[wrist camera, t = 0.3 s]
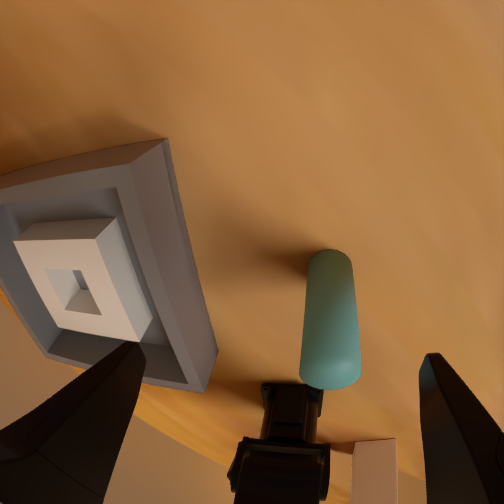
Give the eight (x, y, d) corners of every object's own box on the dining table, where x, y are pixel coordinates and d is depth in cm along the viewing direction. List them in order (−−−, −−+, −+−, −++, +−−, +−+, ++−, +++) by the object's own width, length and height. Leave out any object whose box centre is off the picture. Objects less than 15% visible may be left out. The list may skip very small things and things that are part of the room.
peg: (350, 286, 23) (356, 389, 16) (307, 285, 24) (299, 388, 16) (353, 249, 21) (365, 354, 14) (307, 249, 22) (299, 353, 15)
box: (218, 350, 30) (204, 393, 26) (66, 328, 34) (45, 357, 30) (167, 138, 19) (129, 163, 15) (-4, 176, 23) (-39, 200, 19)
